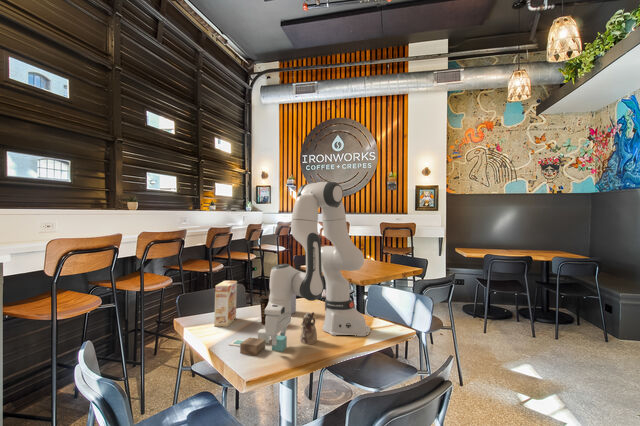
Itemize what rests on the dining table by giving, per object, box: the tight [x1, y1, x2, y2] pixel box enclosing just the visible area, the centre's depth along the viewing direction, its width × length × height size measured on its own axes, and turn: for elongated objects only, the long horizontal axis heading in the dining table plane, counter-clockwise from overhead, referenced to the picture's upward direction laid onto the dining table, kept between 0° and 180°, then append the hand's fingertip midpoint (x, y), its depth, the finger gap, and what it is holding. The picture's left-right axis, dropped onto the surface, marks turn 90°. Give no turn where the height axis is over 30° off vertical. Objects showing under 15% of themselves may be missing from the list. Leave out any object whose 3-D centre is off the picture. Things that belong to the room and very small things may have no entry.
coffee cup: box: [259, 295, 270, 326], centre depth 166 cm, size 9×8×13 cm
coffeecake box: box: [213, 280, 238, 328], centre depth 167 cm, size 15×7×20 cm, turn 179°
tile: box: [228, 338, 246, 347], centre depth 138 cm, size 6×6×1 cm
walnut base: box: [239, 337, 266, 357], centre depth 130 cm, size 7×7×4 cm
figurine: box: [299, 311, 318, 345], centre depth 141 cm, size 7×7×12 cm
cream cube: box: [257, 328, 271, 344], centre depth 141 cm, size 4×4×4 cm
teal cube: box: [271, 334, 288, 352], centre depth 133 cm, size 4×4×4 cm
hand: (278, 340), depth 132 cm, fingers open, 8 cm apart
